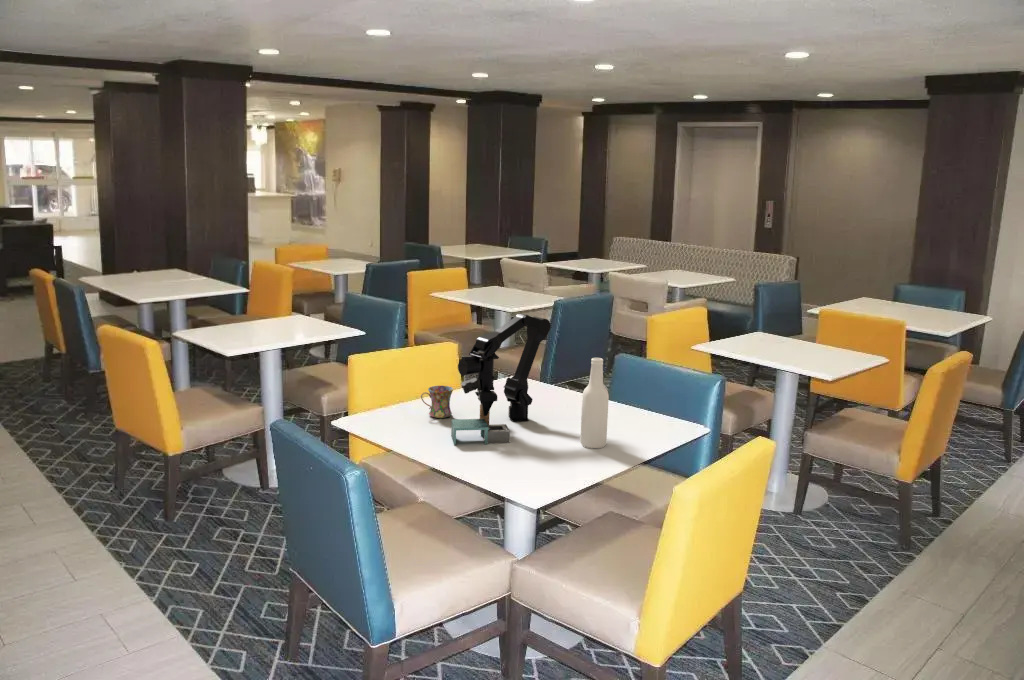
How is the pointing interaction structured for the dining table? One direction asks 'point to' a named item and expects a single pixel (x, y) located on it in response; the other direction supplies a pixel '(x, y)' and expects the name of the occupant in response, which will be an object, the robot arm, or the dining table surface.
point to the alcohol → (594, 408)
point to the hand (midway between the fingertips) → (484, 414)
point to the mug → (439, 401)
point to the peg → (483, 415)
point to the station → (482, 430)
